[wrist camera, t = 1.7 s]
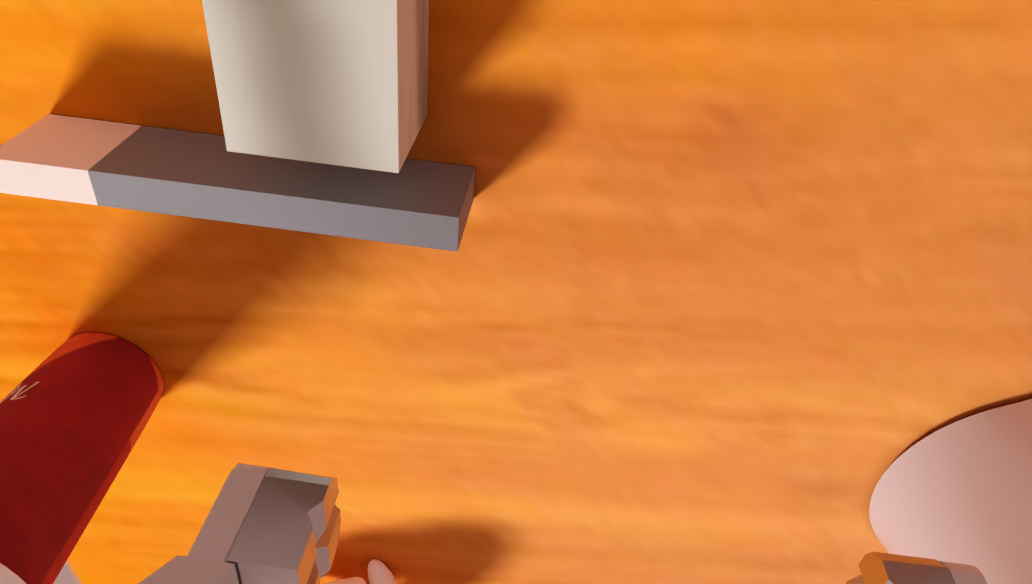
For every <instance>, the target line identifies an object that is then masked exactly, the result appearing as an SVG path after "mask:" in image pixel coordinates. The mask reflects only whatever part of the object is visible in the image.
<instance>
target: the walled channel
mask: <svg viewBox="0 0 1032 584" xmlns="http://www.w3.org/2000/svg"><path fill="white" fill-rule="evenodd" d="M474 182H475V167H471V166H463V165H455V164H447V163H438V162H430V161H422V160H414V159H405V161H404V163H403V165H402V167H401V169H400V172H399V173H392V172H385V171H377V170H369V169H362V168H354V167H346V166H338V165H331V164H323V163H315V162H307V161H300V160H292V159H284V158H276V157H269V156H261V155H253V154H246V153H238V152H230V151H227V149H226V143H225V137H224V136H221V135H213V134H205V133H197V132H189V131H181V130H173V129H165V128H157V127H149V126H141V125H133V124H125V123H117V122H109V121H101V120H93V119H85V118H77V117H69V116H61V115H53V114H48V115H46V116H45V117H43V118H42V119H40V120H39V121H37V122H36V123H34V124H33V125H31V126H30V127H29V128H27V129H26V130H24V131H23V132H21V133H20V134H18V135H17V136H15V137H14V138H12V139H11V140H9V141H8V142H6V143H5V144H3V145H2V146H0V193H7V194H14V195H22V196H30V197H38V198H45V199H53V200H61V201H69V202H76V203H84V204H92V205H100V206H108V207H115V208H123V209H131V210H139V211H146V212H154V213H162V214H170V215H177V216H185V217H193V218H201V219H209V220H216V221H224V222H232V223H240V224H247V225H255V226H263V227H271V228H278V229H286V230H294V231H302V232H310V233H317V234H325V235H333V236H341V237H348V238H356V239H364V240H372V241H379V242H387V243H395V244H403V245H411V246H418V247H426V248H434V249H442V250H449V251H458V248H459V245H460V242H461V238H462V235H463V232H464V229H465V225H466V222H467V219H468V216H469V212H470V209H471V206H472V202H473V199H474Z"/></svg>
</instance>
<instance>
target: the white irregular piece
mask: <svg viewBox="0 0 1032 584" xmlns="http://www.w3.org/2000/svg"><path fill="white" fill-rule="evenodd" d="M368 579H369V584H397V583H396V580H395V578H394V576H393V574H392V573H391V572H390V570H389V569H388V568H387V567H386V566H385V564H384V563H383V562H381V561H380V560H378V559H373V560H371V561H370V562H369V564H368ZM326 584H366V582H365V580H364V579H363V578H361V577H351V578H346V579H341V580H336V581H332V582H329V583H326Z"/></svg>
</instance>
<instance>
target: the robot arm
mask: <svg viewBox="0 0 1032 584" xmlns="http://www.w3.org/2000/svg"><path fill="white" fill-rule="evenodd" d="M338 492H339V491H338V483H337V478H331V477H325V476H319V475H312V474H306V473H300V472H293V471H287V470H281V469H274V468H269V467H262V466H255V465H248V464H241V463H238V464H237V466H236V467H235V468H234V469H233V470H232V471H231V472H230V474H229V476H228V478H227V479H226V481H225V483H224V485H223V487H222V489H221V491H220V493H219V495H218V497H217V499H216V501H215V503H214V505H213V507H212V509H211V511H210V513H209V515H208V517H207V519H206V521H205V523H204V525H203V527H202V529H201V531H200V532H199V534H198V536H197V538H196V540H195V542H194V544H193V546H192V548H191V550H190V552H189V554H188V556H178V555H177V556H176V557H175V558H173V559H172V560H171V561H169V562H168V563H166V564H165V565H164V566H162V567H161V568H159V569H158V570H157V571H155V572H154V573H152V574H151V575H150V576H148V577H147V578H146V579H144V580H143V581H141V582H140V583H139V584H320V578H321V577H323V576H324V575H325V574H326V573H327V572H329V571H330V569H331V566H332V563H333V560H334V557H335V553H336V549H337V544H338V539H339V534H340V523H341V517H340V509H339V508H338V507H337V506H336V505H335V501H336V498H337V495H338ZM869 515H870V522H871V526H872V529H873V531H874V533H875V535H876V537H877V538H878V540H879V541H880V543H881V544H882V545H883V546H884V548H885V549H886V550H887V552H888V553H889V554H888V553H880V552H871V553H868V554H866V555H865V556H864V557H863V559H862V560H861V562H860V563H859V567H860V570H861V574H862V575H860V576H858V577H855V578H853V579H851V580H849V581H847V583H846V584H1032V399H1029V400H1025V401H1022V402H1018V403H1014V404H1010V405H1006V406H1002V407H998V408H994V409H991V410H987V411H984V412H981V413H978V414H975V415H972V416H969V417H967V418H964V419H961V420H959V421H956V422H954V423H952V424H950V425H948V426H945V427H943V428H941V429H939V430H938V431H936V432H934V433H932V434H930V435H929V436H927V437H925V438H924V439H922V440H921V441H919V442H917V443H916V444H915V445H913V446H912V447H911V448H909V449H908V450H907V451H905V452H904V453H903V454H902V455H901V456H900V457H898V458H897V459H896V460H895V461H894V462H893V463H892V464H891V466H890V467H889V468H888V469H887V470H886V471H885V473H884V474H883V475H882V477H881V478H880V480H879V482H878V483H877V485H876V487H875V489H874V492H873V494H872V498H871V502H870V509H869Z"/></svg>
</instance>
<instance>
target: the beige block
mask: <svg viewBox="0 0 1032 584" xmlns="http://www.w3.org/2000/svg"><path fill="white" fill-rule="evenodd" d="M202 4H203V10H204V16H205V22H206V28H207V34H208V40H209V46H210V52H211V58H212V64H213V70H214V76H215V82H216V88H217V94H218V100H219V106H220V112H221V118H222V124H223V131H224V137H225V143H226V149H227V151H230V152H238V153H246V154H253V155H261V156H269V157H276V158H284V159H292V160H300V161H307V162H315V163H323V164H331V165H338V166H346V167H354V168H362V169H369V170H377V171H385V172H392V173H399V172H400V169H401V167H402V165H403V163H404V161H405V159H406V157H407V155H408V153H409V151H410V149H411V147H412V145H413V143H414V141H415V139H416V137H417V135H418V133H419V131H420V129H421V127H422V125H423V123H424V121H425V119H426V117H427V100H428V33H429V0H202Z"/></svg>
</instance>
